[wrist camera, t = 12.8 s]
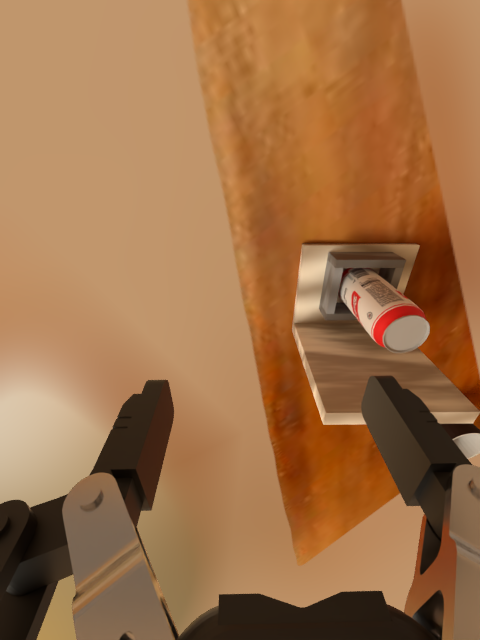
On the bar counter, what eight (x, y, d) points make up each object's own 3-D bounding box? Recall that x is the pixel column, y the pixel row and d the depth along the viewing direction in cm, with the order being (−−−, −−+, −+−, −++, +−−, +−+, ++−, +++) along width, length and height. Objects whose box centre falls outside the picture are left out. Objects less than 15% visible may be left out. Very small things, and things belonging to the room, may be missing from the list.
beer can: (369, 257, 42) (433, 302, 28) (375, 290, 45) (437, 346, 31) (330, 272, 44) (373, 323, 30) (339, 303, 46) (382, 363, 33)
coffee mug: (460, 405, 61) (496, 445, 52) (425, 425, 64) (455, 465, 56) (432, 381, 57) (467, 419, 48) (397, 403, 60) (424, 443, 52)
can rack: (387, 329, 50) (472, 423, 32) (291, 330, 50) (323, 424, 32) (416, 243, 42) (551, 304, 24) (302, 243, 42) (351, 304, 24)
